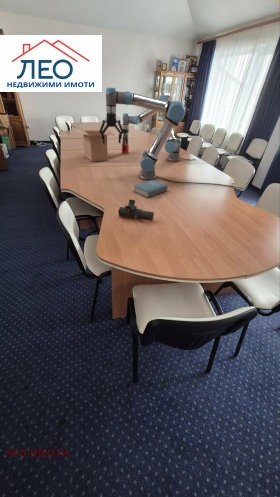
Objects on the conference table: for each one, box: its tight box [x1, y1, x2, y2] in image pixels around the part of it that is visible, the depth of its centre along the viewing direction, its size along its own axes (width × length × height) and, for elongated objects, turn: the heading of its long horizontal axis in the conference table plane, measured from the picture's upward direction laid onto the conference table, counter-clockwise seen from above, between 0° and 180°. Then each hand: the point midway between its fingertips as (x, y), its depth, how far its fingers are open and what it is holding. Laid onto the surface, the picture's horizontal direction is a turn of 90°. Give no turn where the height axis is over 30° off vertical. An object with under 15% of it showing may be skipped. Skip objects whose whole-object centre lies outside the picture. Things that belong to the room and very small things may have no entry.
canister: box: [121, 144, 130, 154], centre depth 269 cm, size 8×8×9 cm
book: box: [133, 179, 169, 198], centre depth 177 cm, size 23×16×5 cm
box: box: [74, 128, 115, 162], centre depth 240 cm, size 44×36×27 cm
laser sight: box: [117, 199, 155, 222], centre depth 138 cm, size 10×22×10 cm, turn 78°
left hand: (111, 143), depth 179 cm, fingers open, 13 cm apart
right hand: (125, 149), depth 269 cm, fingers closed on canister, 8 cm apart
